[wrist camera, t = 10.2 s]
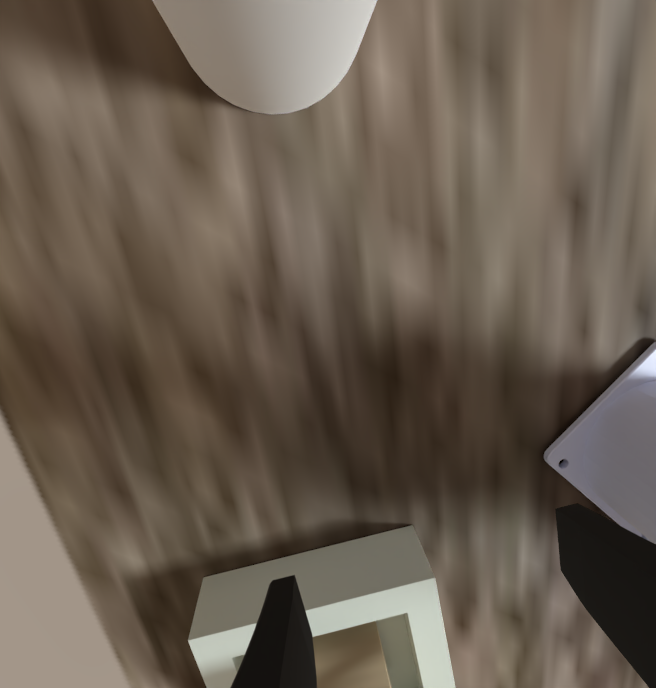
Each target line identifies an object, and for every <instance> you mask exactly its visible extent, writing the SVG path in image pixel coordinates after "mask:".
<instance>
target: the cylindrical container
mask: <svg viewBox="0 0 656 688" xmlns="http://www.w3.org/2000/svg"><path fill="white" fill-rule="evenodd" d="M152 1H153V3H154V5H155V6H156V8H157V10H158V11H159V13H160V15H161V16H162V18H163V20H164V22H165V23H166V25H167V27H168V28H169V30H170V32H171V33H172V35H173V37H174V38H175V40H176V42H177V44H178V45H179V47H180V49H181V50H182V52H183V54H184V55H185V57H186V59H187V61H188V62H189V64H190V66H191V67H192V68H193V70H194V71H195V72H196V73H197V75H198V76H199V77H200V78H201V80H202V81H203V82H204V83H205V84H206V85H207V86H208V87H209V88H210V89H212V90H213V91H214V92H215V93H216V94H217V95H218V96H220V97H222V98H223V99H225V100H227V101H228V102H230V103H231V104H233V105H235V106H238V107H240V108H243V109H246V110H248V111H251V112H257V113H263V114H270V115H272V114H286V113H292V112H295V111H298V110H301V109H305V108H307V107H309V106H311V105H313V104H314V103H316V102H318V101H320V100H321V99H323V98H324V97H325V96H326V95H328V94H329V93H330V92H331V91H332V90H333V89H334V88H335V87H336V86H337V85H338V84H339V83H340V81H341V80H342V79H343V77H344V76H345V75H346V73H347V72H348V70H349V68H350V66H351V64H352V62H353V60H354V58H355V56H356V54H357V51H358V49H359V46H360V43H361V41H362V38H363V36H364V33H365V31H366V28H367V25H368V23H369V20H370V18H371V15H372V13H373V10H374V7H375V5H376V2H377V0H152Z"/></svg>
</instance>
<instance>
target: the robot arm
mask: <svg viewBox="0 0 656 688" xmlns="http://www.w3.org/2000/svg"><path fill="white" fill-rule="evenodd" d="M563 459H564V461H563V462H562V463H561V464H559V462H560V461H561V460H563ZM544 460H545V461H546V462H547V463H548V464H549V465H550V466H551V467H552V468H553V469H555V470H556V471H557V472H558V473H559V474H560V475H562V476H563V477H564V478H565V479H566V480H567V481H569V482H570V483H571V484H572V485H573V486H574V487H576V488H577V489H578V490H579V491H580V492H581V493H583V494H584V495H585V496H586V497H587V498H588V499H590V500H591V501H592V502H593V503H594V504H595V505H597V506H598V507H599V508H600V509H601V510H602V511H604V512H605V513H606V514H607V515H608V516H609V517H611V518H612V519H613V520H614V521H615V522H616V523H618V524H619V525H618V524H616V523H614V522H612V521H610V520H608V519H606V518H604V517H603V516H601V515H599V514H597V513H595V512H593V511H591V510H589V509H587V508H585V507H583V506H581V505H579V504H573V505H569V506H565V507H561V508H557V509H556V520H557V531H558V543H559V554H560V566H561V571H562V573H563V574H564V576H565V577H566V579H567V581H568V582H569V584H570V585H571V587H572V589H573V590H574V592H575V593H576V595H577V596H578V598H579V599H580V601H581V602H582V604H583V605H584V607H585V608H586V610H587V611H588V612H589V613H590V615H591V616H592V617H593V618H594V620H595V621H596V622H597V623H598V625H599V626H600V627H601V628H602V630H603V631H604V632H605V633H606V635H607V636H608V637H609V638H610V640H611V641H612V642H613V643H614V645H615V646H616V647H617V648H618V650H619V651H620V652H621V653H622V655H623V656H624V657H625V658H626V659H627V661H628V662H629V663H630V664H631V666H632V667H633V668H634V669H635V671H636V672H637V673H638V674H639V675H640V677H641V678H642V679H643V680H644V682H645V683H646V684H647V685H648V687H649V688H656V342H654V343H653V344H652V345H651V346H650V347H649V348H648V349H647V350H646V351H645V352H644V353H643V354H642V355H641V356H640V357H639V358H638V359H637V360H636V361H635V362H634V363H633V364H632V365H631V366H630V367H629V368H628V369H627V370H626V371H625V372H624V373H623V374H622V375H621V376H620V377H619V378H618V379H617V380H616V381H615V382H614V383H613V384H612V385H611V386H610V387H609V388H608V389H607V390H606V391H605V392H604V393H603V394H602V395H601V396H600V397H599V398H598V399H597V400H596V401H595V402H594V403H593V404H592V405H591V406H590V407H589V408H588V409H587V410H586V411H585V412H584V413H583V414H582V415H581V416H580V417H579V418H578V419H577V420H576V421H575V422H574V423H573V424H572V425H571V426H570V427H569V428H568V429H567V430H566V431H565V432H564V433H563V434H562V435H561V436H560V437H559V438H558V439H557V440H556V441H555V442H554V443H553V444H552V445H551V446H550V447H549V448H548V449H547V450H546V451H545V452H544ZM231 688H317V675H316V665H315V655H314V646H313V637H312V632H311V628H310V625H309V621H308V618H307V615H306V611H305V608H304V604H303V601H302V598H301V594H300V591H299V587H298V584H297V581H296V577H295V575H292V576H288V577H284V578H280V579H276V580H272V582H271V583H270V584H269V587H268V591H267V594H266V597H265V601H264V604H263V607H262V610H261V613H260V616H259V618H258V621H257V624H256V627H255V630H254V632H253V635H252V637H251V640H250V642H249V645H248V648H247V650H246V653H245V655H244V658H243V660H242V663H241V665H240V667H239V670H238V672H237V674H236V676H235V679H234V681H233V683H232V685H231Z"/></svg>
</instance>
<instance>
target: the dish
mask: <svg viewBox="0 0 656 688" xmlns="http://www.w3.org/2000/svg"><path fill="white" fill-rule="evenodd" d="M292 575H295V577H296V581H297V584H298V587H299V591H300V594H301V598H302V601H303V604H304V608H305V611H306V615H307V618H308V621H309V625H310V628H311V632H312V637H315V636H319V635H323V634H326V633H330V632H334V631H338V630H342V629H346V628H350V627H354V626H358V625H361V624H365V623H369V622H373V621H376V623H377V628H378V632H379V636H380V640H381V644H382V648H383V652H384V656H385V660H386V665H387V669H388V673H389V677H390V682H391V686H392V688H455V683H454V677H453V672H452V667H451V661H450V656H449V650H448V645H447V640H446V634H445V629H444V624H443V618H442V613H441V607H440V602H439V597H438V591H437V586H436V580H435V577H434V574H433V572H432V569H431V567H430V565H429V562H428V560H427V558H426V555H425V553H424V551H423V548H422V546H421V543H420V541H419V539H418V536H417V534H416V532H415V529H414V527H413V525H411V526H407V527H403V528H399V529H395V530H391V531H387V532H383V533H379V534H375V535H371V536H367V537H363V538H359V539H355V540H351V541H347V542H343V543H339V544H335V545H331V546H327V547H323V548H319V549H315V550H311V551H307V552H303V553H299V554H295V555H291V556H287V557H283V558H279V559H275V560H271V561H267V562H263V563H259V564H255V565H251V566H247V567H243V568H239V569H235V570H231V571H227V572H223V573H219V574H215V575H211V576H207V577H203V581H202V585H201V589H200V593H199V597H198V601H197V605H196V609H195V614H194V618H193V622H192V626H191V630H190V634H189V638H188V642H189V645H190V647H191V650H192V652H193V655H194V657H195V660H196V662H197V665H198V667H199V670H200V672H201V675H202V677H203V680H204V682H205V685H206V687H207V688H231V685H232V683H233V681H234V679H235V676H236V674H237V672H238V670H239V667H240V665H241V663H242V660H243V658H244V655H245V653H246V650H247V648H248V645H249V642H250V640H251V637H252V635H253V632H254V630H255V627H256V624H257V621H258V618H259V616H260V613H261V610H262V607H263V604H264V601H265V597H266V594H267V591H268V587H269V584H270V583H271V582H272V580H276V579H280V578H284V577H288V576H292Z"/></svg>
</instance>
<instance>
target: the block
mask: <svg viewBox="0 0 656 688" xmlns="http://www.w3.org/2000/svg"><path fill="white" fill-rule="evenodd" d="M313 646H314V655H315V665H316V675H317V688H392V686H391V682H390V677H389V673H388V669H387V665H386V660H385V656H384V652H383V648H382V644H381V640H380V636H379V632H378V628H377V623H376V621H373V622H369V623H365V624H361V625H358V626H354V627H350V628H346V629H342V630H338V631H334V632H330V633H326V634H323V635H319V636H315V637H313Z"/></svg>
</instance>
